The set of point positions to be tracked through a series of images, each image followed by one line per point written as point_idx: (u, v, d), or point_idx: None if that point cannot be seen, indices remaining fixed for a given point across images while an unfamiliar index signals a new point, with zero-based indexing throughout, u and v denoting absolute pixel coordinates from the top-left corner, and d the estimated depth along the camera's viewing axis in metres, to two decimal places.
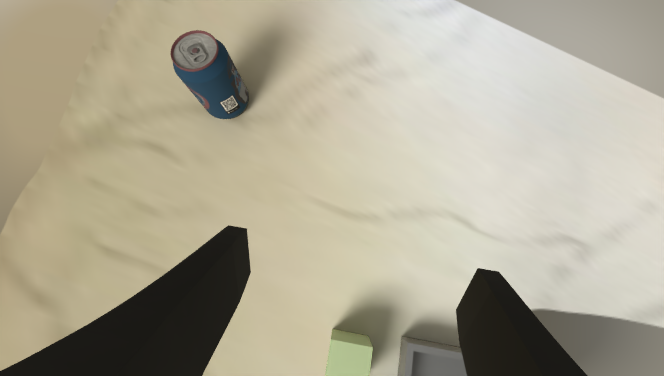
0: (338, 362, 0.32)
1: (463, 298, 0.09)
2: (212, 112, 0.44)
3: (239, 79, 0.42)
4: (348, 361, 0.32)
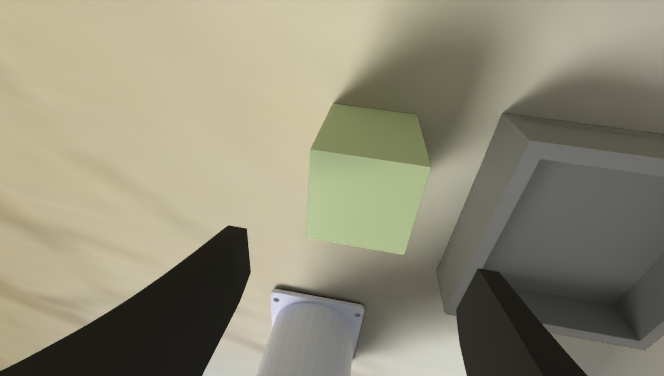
0: (336, 197, 0.13)
1: (463, 298, 0.09)
2: None
3: None
4: (360, 196, 0.12)
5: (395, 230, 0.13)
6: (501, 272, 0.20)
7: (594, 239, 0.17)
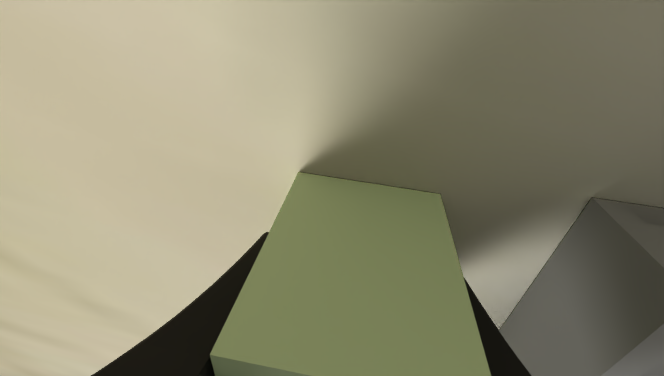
0: None
1: None
2: None
3: None
4: None
5: None
6: None
7: None
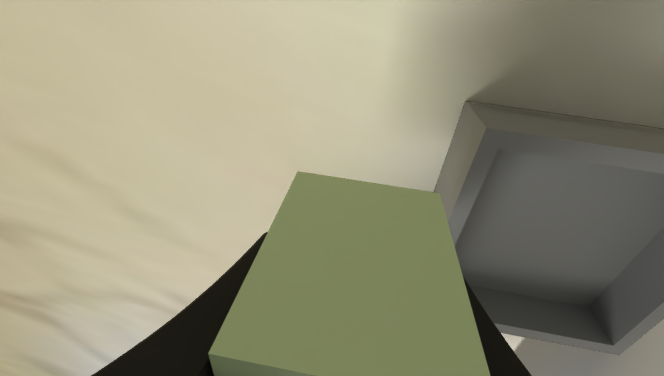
0: None
1: None
2: None
3: None
4: None
5: None
6: (471, 271, 0.19)
7: (566, 237, 0.16)
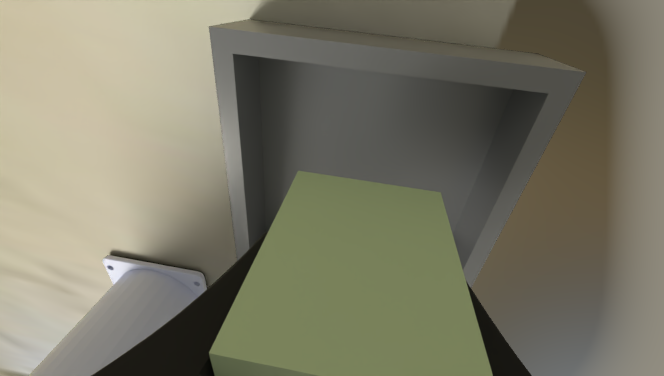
0: None
1: None
2: None
3: None
4: None
5: None
6: None
7: (390, 179, 0.15)
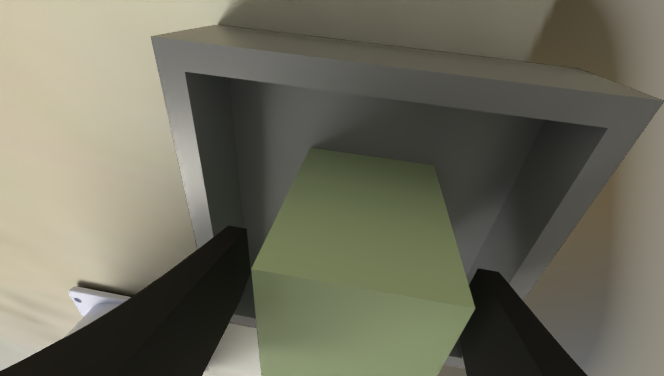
0: (305, 334, 0.07)
1: None
2: None
3: None
4: (345, 335, 0.07)
5: None
6: None
7: None
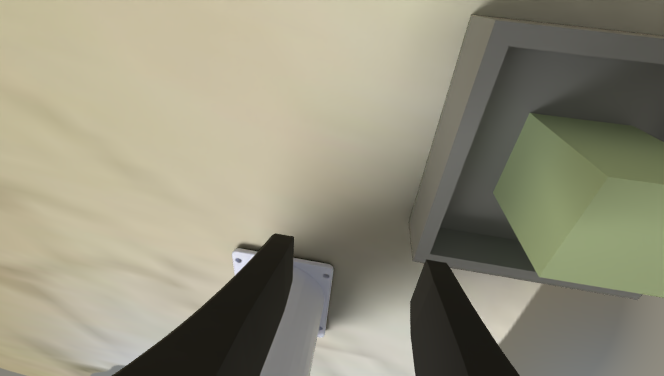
0: (611, 233, 0.10)
1: (415, 289, 0.10)
2: None
3: None
4: (647, 231, 0.10)
5: None
6: (477, 216, 0.18)
7: None
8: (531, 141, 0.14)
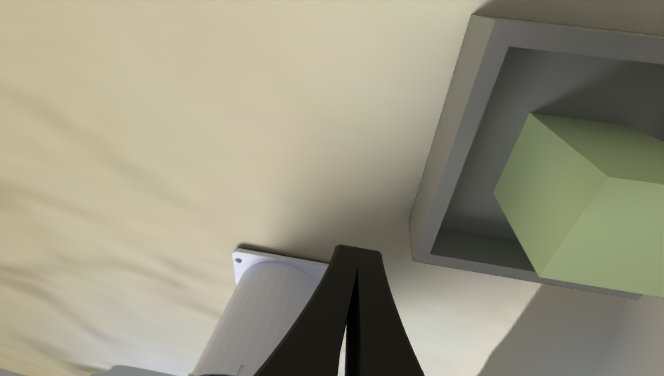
0: (611, 233, 0.10)
1: None
2: None
3: None
4: (647, 231, 0.10)
5: None
6: (477, 216, 0.18)
7: None
8: (531, 141, 0.14)
